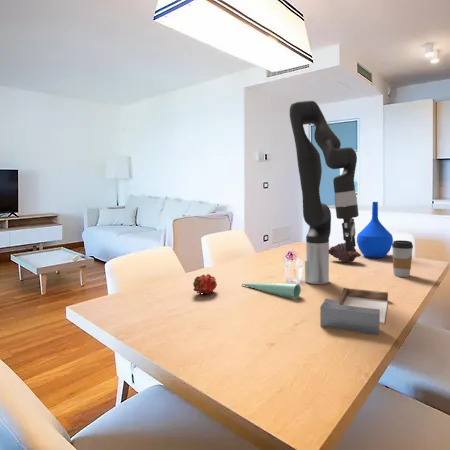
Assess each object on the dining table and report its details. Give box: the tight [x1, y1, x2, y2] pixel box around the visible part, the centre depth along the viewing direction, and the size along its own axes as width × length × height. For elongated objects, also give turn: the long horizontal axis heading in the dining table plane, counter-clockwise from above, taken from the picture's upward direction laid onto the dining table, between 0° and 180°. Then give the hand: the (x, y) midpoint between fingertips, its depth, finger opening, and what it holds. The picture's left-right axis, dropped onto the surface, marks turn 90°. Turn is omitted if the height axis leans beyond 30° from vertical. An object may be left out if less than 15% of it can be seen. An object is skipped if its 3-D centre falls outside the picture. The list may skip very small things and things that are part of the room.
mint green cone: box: [241, 282, 302, 300], centre depth 144 cm, size 5×6×27 cm
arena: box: [336, 287, 389, 305], centre depth 122 cm, size 15×22×3 cm, turn 154°
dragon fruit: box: [192, 273, 218, 295], centre depth 143 cm, size 8×8×12 cm
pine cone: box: [329, 242, 362, 263], centre depth 189 cm, size 18×10×10 cm, turn 51°
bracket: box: [319, 298, 381, 336], centre depth 108 cm, size 16×8×6 cm, turn 64°
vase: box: [356, 201, 394, 259], centre depth 199 cm, size 18×18×30 cm
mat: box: [343, 296, 389, 324], centre depth 121 cm, size 14×21×1 cm, turn 154°
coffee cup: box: [391, 239, 414, 278], centre depth 160 cm, size 8×8×15 cm
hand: (351, 249), depth 131 cm, fingers open, 8 cm apart
